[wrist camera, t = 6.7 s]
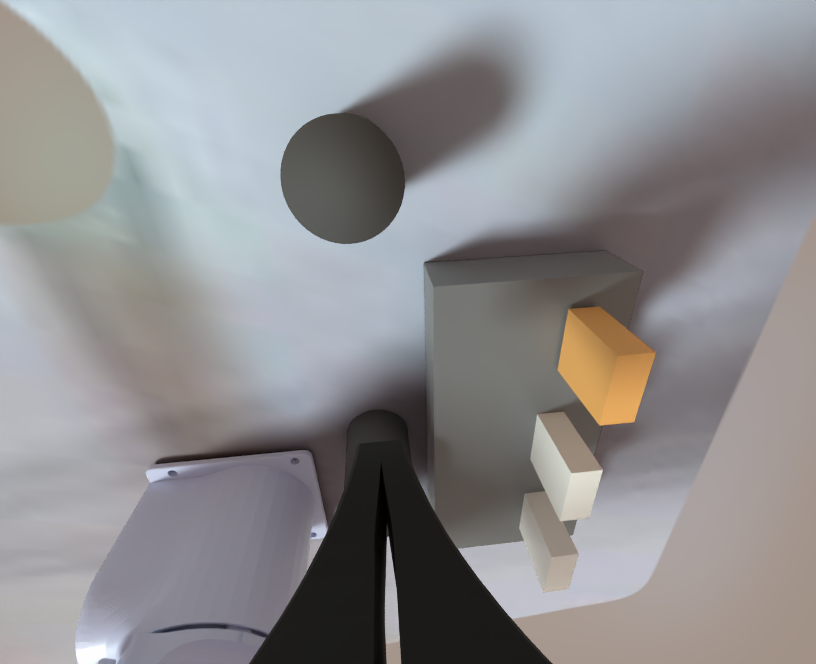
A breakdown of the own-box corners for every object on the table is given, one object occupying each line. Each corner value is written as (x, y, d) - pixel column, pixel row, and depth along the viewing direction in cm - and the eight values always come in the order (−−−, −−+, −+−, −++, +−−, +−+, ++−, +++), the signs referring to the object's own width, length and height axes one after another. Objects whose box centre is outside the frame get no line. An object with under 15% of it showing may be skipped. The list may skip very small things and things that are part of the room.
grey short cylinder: (350, 457, 24) (347, 541, 20) (343, 412, 23) (338, 492, 18) (408, 451, 25) (418, 533, 20) (405, 407, 23) (416, 484, 18)
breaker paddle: (557, 369, 18) (599, 425, 15) (568, 308, 17) (617, 355, 14) (586, 367, 19) (634, 422, 15) (599, 306, 17) (656, 352, 14)
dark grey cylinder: (313, 210, 17) (292, 247, 12) (299, 116, 15) (268, 116, 11) (395, 205, 17) (407, 239, 12) (390, 112, 16) (401, 110, 11)
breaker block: (428, 509, 27) (445, 618, 21) (423, 262, 19) (450, 331, 13) (553, 496, 28) (603, 598, 22) (605, 250, 19) (712, 310, 13)
